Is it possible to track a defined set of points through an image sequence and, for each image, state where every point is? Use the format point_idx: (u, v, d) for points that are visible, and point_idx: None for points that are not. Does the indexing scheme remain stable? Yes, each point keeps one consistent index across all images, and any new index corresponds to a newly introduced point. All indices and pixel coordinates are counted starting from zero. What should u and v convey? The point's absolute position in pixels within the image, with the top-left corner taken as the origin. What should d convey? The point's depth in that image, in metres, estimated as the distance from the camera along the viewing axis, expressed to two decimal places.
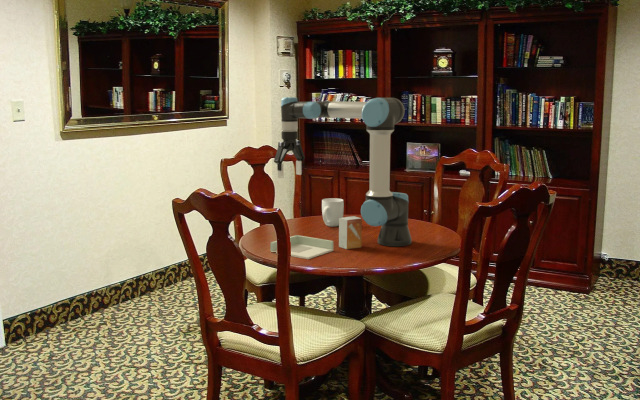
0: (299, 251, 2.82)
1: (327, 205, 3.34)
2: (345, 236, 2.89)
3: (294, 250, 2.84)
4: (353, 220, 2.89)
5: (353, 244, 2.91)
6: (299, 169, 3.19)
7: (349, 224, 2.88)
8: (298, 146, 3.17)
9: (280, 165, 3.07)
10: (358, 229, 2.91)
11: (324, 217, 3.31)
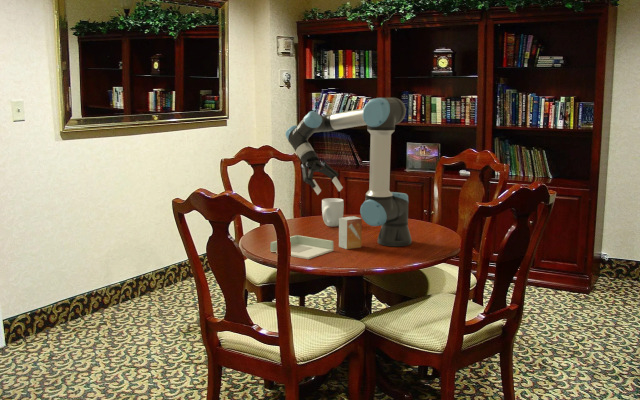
0: (299, 251, 2.82)
1: (327, 205, 3.34)
2: (345, 236, 2.89)
3: (294, 250, 2.84)
4: (353, 220, 2.89)
5: (353, 244, 2.91)
6: (338, 184, 3.03)
7: (349, 224, 2.88)
8: (325, 166, 3.07)
9: (312, 181, 2.94)
10: (358, 229, 2.91)
11: (324, 217, 3.31)
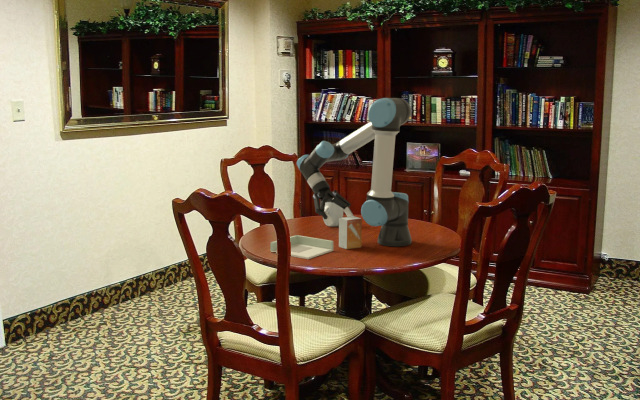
0: (299, 251, 2.82)
1: (327, 205, 3.34)
2: (345, 236, 2.89)
3: (294, 250, 2.84)
4: (353, 220, 2.89)
5: (353, 244, 2.91)
6: (350, 214, 3.00)
7: (349, 224, 2.88)
8: (337, 196, 3.04)
9: (324, 213, 2.92)
10: (358, 229, 2.91)
11: None
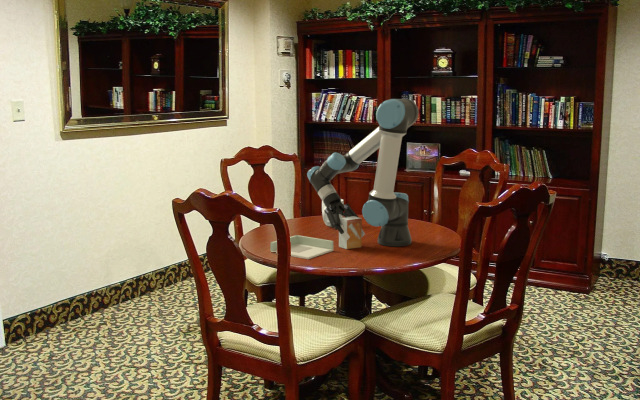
0: (299, 251, 2.82)
1: None
2: None
3: (294, 250, 2.84)
4: (353, 220, 2.89)
5: (353, 244, 2.91)
6: None
7: (349, 224, 2.88)
8: (348, 209, 3.00)
9: (340, 227, 2.89)
10: (358, 228, 2.91)
11: (324, 217, 3.31)
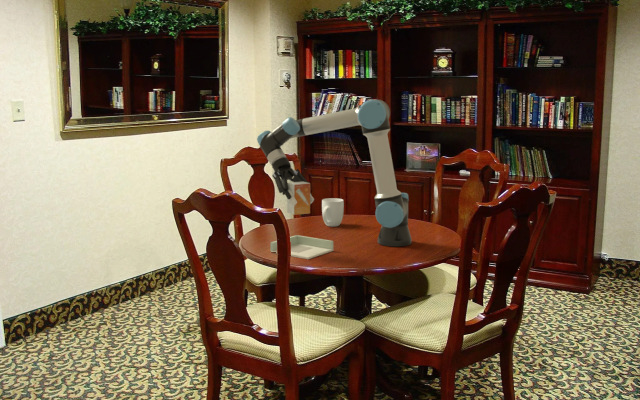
0: (299, 251, 2.82)
1: (327, 205, 3.34)
2: None
3: (294, 250, 2.84)
4: (301, 185, 2.80)
5: (301, 210, 2.81)
6: None
7: (296, 189, 2.79)
8: (298, 175, 2.90)
9: (287, 192, 2.79)
10: (306, 194, 2.82)
11: (324, 217, 3.31)
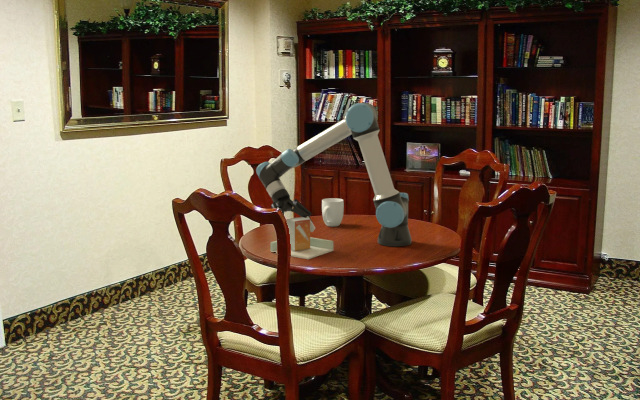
0: (299, 251, 2.82)
1: (327, 205, 3.34)
2: (293, 237, 2.82)
3: None
4: (301, 221, 2.82)
5: (301, 246, 2.84)
6: (310, 224, 2.89)
7: (297, 225, 2.81)
8: (297, 204, 2.93)
9: None
10: (306, 230, 2.84)
11: (324, 217, 3.31)
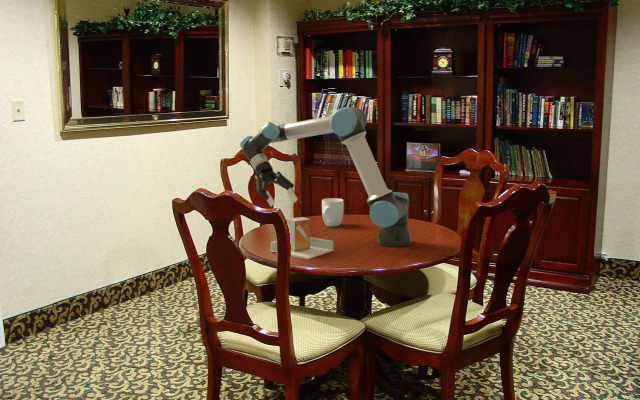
0: (299, 251, 2.82)
1: (327, 205, 3.34)
2: (293, 237, 2.82)
3: None
4: (301, 221, 2.82)
5: (301, 246, 2.84)
6: (293, 195, 2.99)
7: (297, 225, 2.81)
8: (280, 177, 3.03)
9: (265, 193, 2.90)
10: (306, 230, 2.84)
11: (324, 217, 3.31)
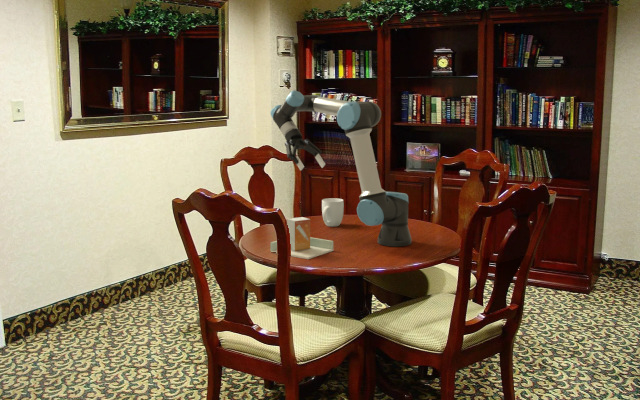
0: (299, 251, 2.82)
1: (327, 205, 3.34)
2: (293, 237, 2.82)
3: None
4: (301, 221, 2.82)
5: (301, 246, 2.84)
6: (321, 161, 3.14)
7: (297, 225, 2.81)
8: (309, 143, 3.18)
9: (295, 158, 3.06)
10: (306, 230, 2.84)
11: (324, 217, 3.31)
